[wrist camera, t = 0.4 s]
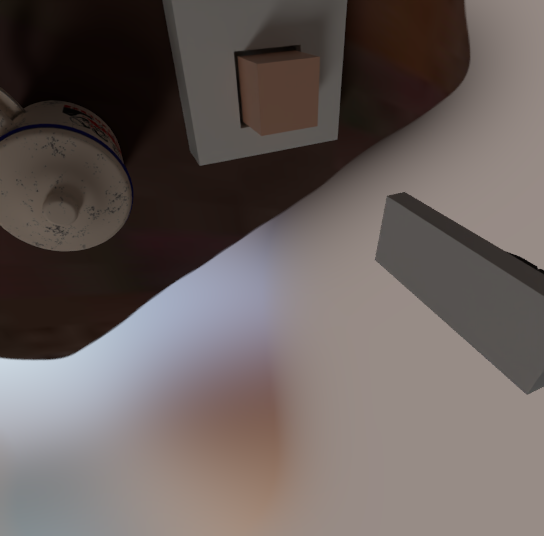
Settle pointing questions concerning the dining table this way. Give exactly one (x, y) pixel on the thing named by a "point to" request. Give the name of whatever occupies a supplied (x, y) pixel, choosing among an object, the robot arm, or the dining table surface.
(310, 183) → the dining table surface
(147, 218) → the dining table surface
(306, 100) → the terracotta key
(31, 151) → the teacup with lid
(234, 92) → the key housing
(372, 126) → the dining table surface
